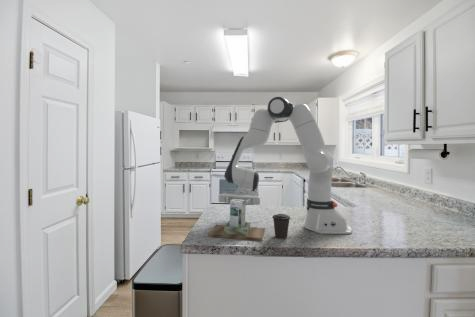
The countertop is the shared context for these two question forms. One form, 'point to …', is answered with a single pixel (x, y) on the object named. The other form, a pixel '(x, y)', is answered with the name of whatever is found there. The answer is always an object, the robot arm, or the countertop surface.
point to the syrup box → (237, 213)
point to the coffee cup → (281, 225)
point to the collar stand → (237, 232)
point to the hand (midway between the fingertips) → (236, 202)
